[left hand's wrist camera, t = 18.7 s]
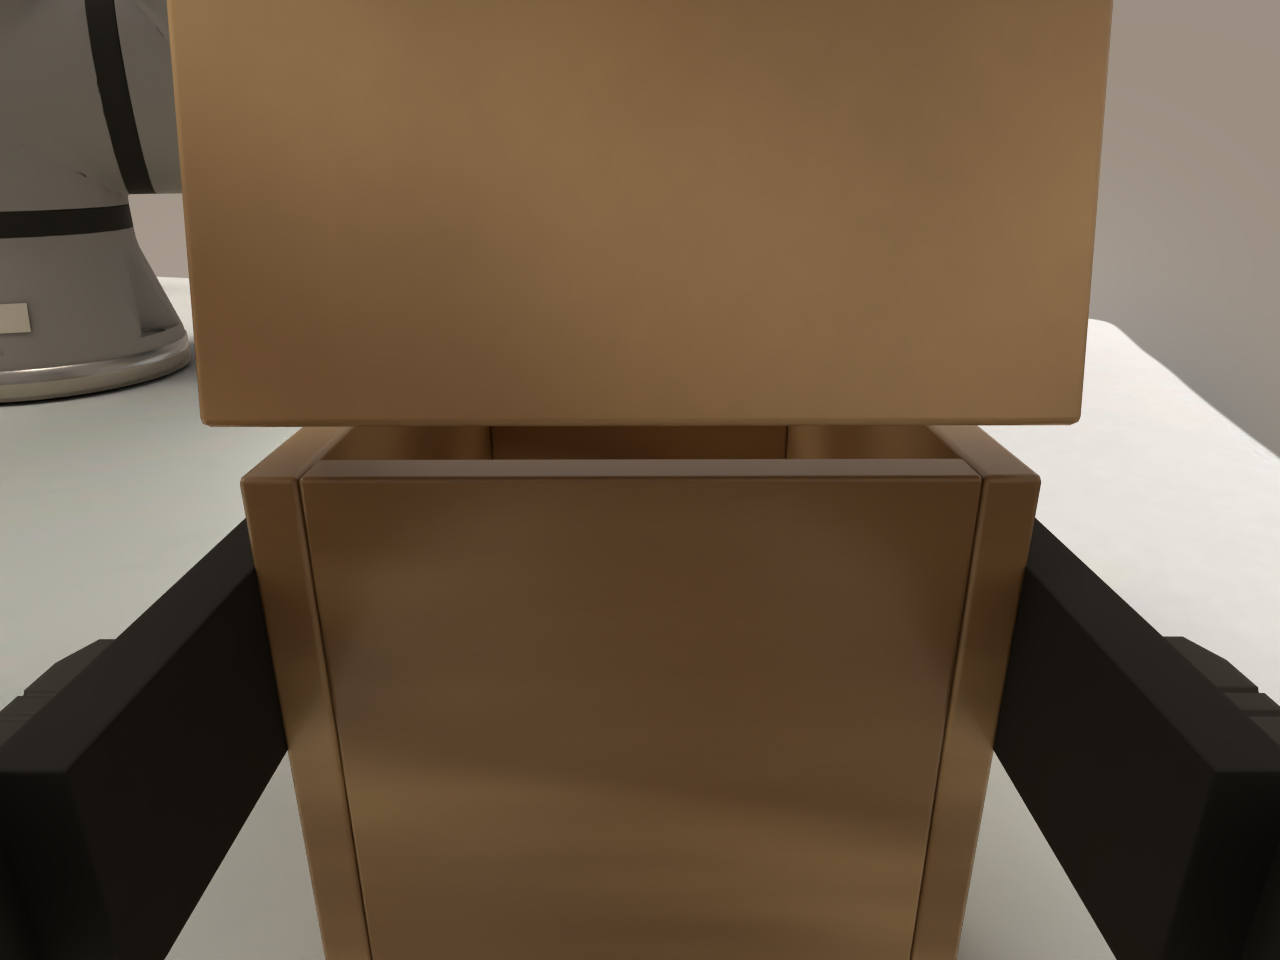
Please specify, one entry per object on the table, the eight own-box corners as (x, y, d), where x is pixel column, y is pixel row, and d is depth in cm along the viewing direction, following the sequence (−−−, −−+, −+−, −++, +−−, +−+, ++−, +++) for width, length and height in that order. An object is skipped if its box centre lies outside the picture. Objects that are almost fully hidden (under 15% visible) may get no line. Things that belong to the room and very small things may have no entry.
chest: (483, 614, 26) (458, 295, 22) (795, 613, 26) (818, 294, 23) (339, 1049, 13) (235, 478, 10) (943, 1047, 13) (1045, 476, 10)
